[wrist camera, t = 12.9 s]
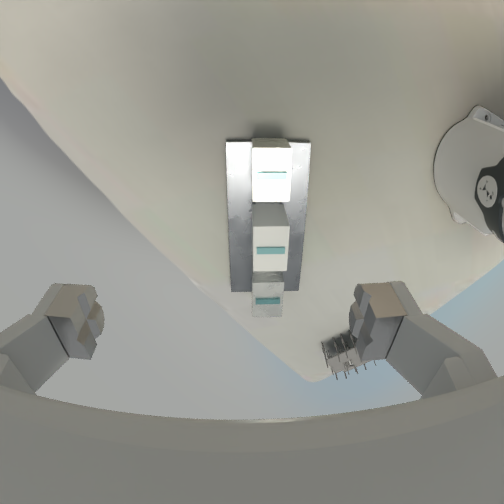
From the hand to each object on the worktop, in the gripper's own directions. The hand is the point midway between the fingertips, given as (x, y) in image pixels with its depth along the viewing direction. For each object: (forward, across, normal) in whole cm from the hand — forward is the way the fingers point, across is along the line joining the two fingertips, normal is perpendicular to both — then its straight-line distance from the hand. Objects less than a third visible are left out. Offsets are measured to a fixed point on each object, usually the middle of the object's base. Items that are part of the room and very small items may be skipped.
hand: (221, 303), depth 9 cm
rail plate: (+31, -4, +13) cm, 34 cm away
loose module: (+30, -4, +13) cm, 33 cm away
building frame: (+32, -19, +38) cm, 53 cm away
